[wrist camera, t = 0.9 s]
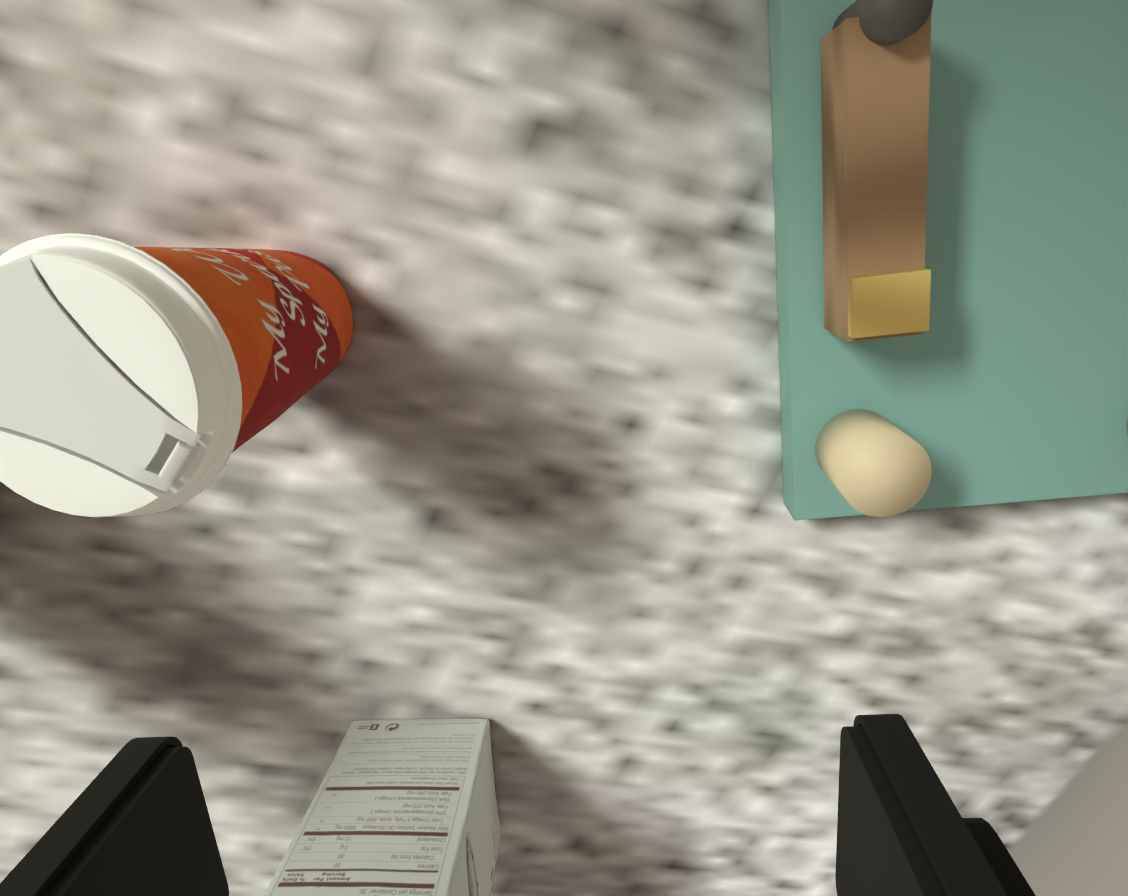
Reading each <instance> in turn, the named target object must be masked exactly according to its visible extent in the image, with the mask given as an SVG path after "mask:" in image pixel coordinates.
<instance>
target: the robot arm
mask: <svg viewBox="0 0 1128 896" xmlns="http://www.w3.org/2000/svg"><path fill="white" fill-rule="evenodd" d="M836 889H837V896H1035V894H1034V892H1033V891H1032V889H1031V888H1030V886H1029V884H1028V883H1027V881H1026V880H1025V878H1024V876H1023V875H1022V873H1021V872H1020V870H1019V868H1018V867H1017V865H1016V864H1015V862H1014V861H1013V859H1012V857H1011V856H1010V854H1009V852H1008V851H1007V849H1006V848H1005V846H1004V844H1003V843H1002V841H1001V840H1000V838H999V836H998V835H997V833H996V832H995V831H994V829H993V828H992V827H991V825H990V824H989V823H988V822H986V821H985V820H984V819H982V818H962V817H961V815H960V814H959V812H958V810H957V808H956V807H955V805H954V803H953V802H952V800H951V798H950V796H949V795H948V793H947V791H946V790H945V788H944V786H943V784H942V783H941V781H940V779H939V778H938V776H937V774H936V773H935V771H934V769H933V767H932V766H931V764H930V762H929V761H928V759H927V757H926V755H925V754H924V752H923V750H922V749H921V747H920V745H919V743H918V742H917V740H916V738H915V737H914V735H913V733H912V731H911V730H910V728H909V726H908V725H907V723H906V721H905V720H904V718H903V717H902V716H901V715H899V714H880V715H858V716H856V717H855V720H854V727H843V728H842V730H841V742H840V770H839V798H838V826H837V853H836ZM0 896H229V889H228V884H227V880H226V876H225V873H224V869H223V865H222V861H221V858H220V854H219V850H218V847H217V843H216V839H215V836H214V832H213V828H212V825H211V821H210V817H209V814H208V810H207V806H206V802H205V799H204V795H203V791H202V788H201V784H200V780H199V777H198V773H197V769H196V766H195V762H194V758H193V755H192V752H191V750H190V749H189V748H188V747H183V746H182V744H181V742H180V741H179V740H178V739H177V738H176V737H145V738H135V739H132V740H131V741H129V742H128V743H127V744H126V745H125V746H124V747H123V748H122V749H121V750H120V751H119V753H118V754H117V755H116V756H115V757H114V758H113V759H112V760H111V761H110V762H109V764H108V765H107V766H106V767H105V768H104V769H103V770H102V771H101V772H100V774H99V775H98V776H97V777H96V778H95V779H94V780H93V781H92V782H91V784H90V785H89V786H88V787H87V788H86V789H85V790H84V791H83V792H82V794H81V795H80V796H79V797H78V798H77V799H76V800H75V801H74V802H73V804H72V805H71V806H70V807H69V808H68V809H67V810H66V811H65V812H64V813H63V815H62V816H61V817H60V818H59V819H58V820H57V821H56V822H55V823H54V825H53V826H52V827H51V828H50V829H49V830H48V831H47V832H46V833H45V835H44V836H43V837H42V838H41V839H40V840H39V841H38V842H37V843H36V845H35V846H34V847H33V848H32V849H31V850H30V851H29V852H28V853H27V854H26V856H25V857H24V858H23V859H22V860H21V861H20V862H19V863H18V864H17V866H16V867H15V868H14V869H13V870H12V871H11V872H10V873H9V874H8V876H7V877H6V878H5V879H4V880H3V881H2V882H1V883H0Z"/></svg>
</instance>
